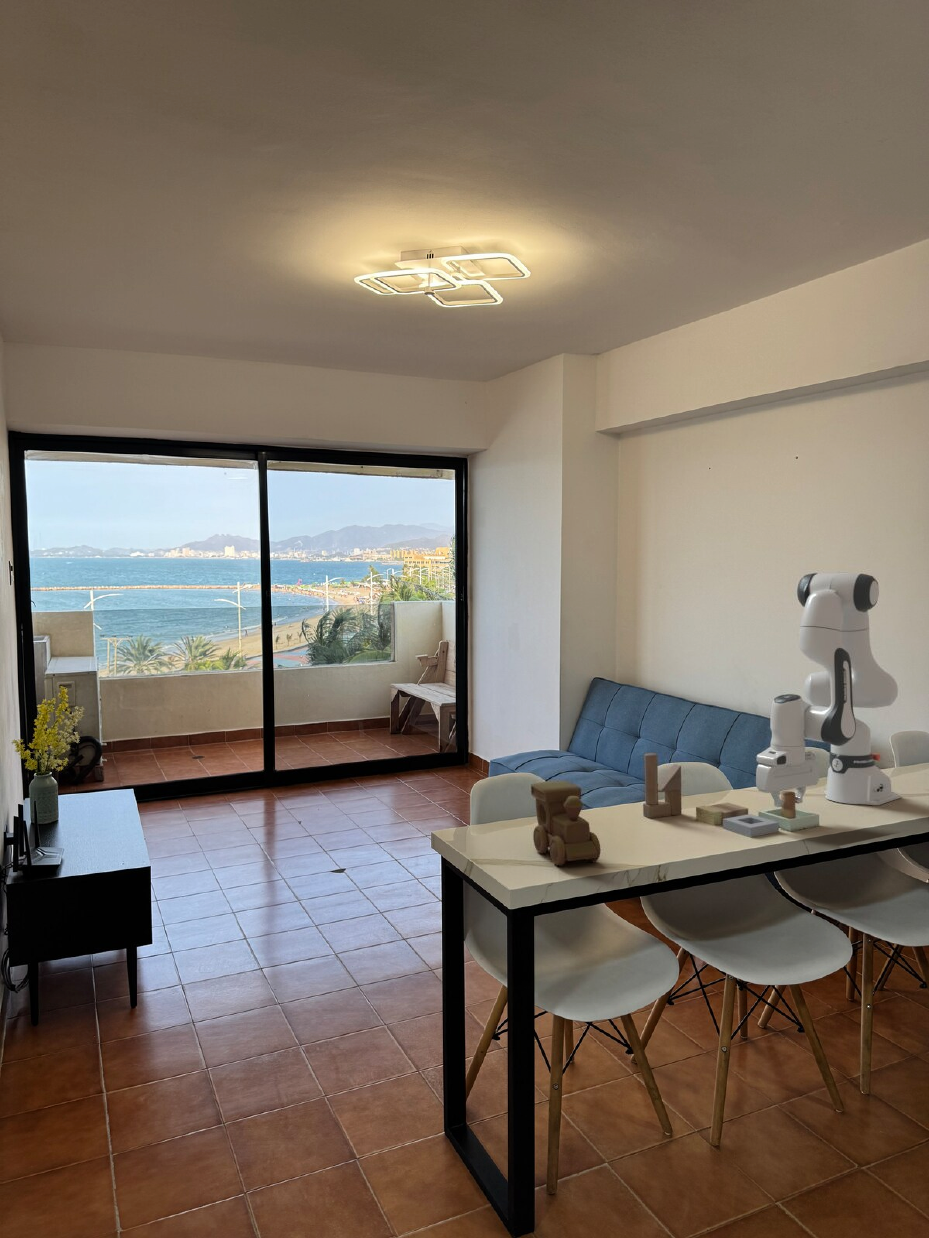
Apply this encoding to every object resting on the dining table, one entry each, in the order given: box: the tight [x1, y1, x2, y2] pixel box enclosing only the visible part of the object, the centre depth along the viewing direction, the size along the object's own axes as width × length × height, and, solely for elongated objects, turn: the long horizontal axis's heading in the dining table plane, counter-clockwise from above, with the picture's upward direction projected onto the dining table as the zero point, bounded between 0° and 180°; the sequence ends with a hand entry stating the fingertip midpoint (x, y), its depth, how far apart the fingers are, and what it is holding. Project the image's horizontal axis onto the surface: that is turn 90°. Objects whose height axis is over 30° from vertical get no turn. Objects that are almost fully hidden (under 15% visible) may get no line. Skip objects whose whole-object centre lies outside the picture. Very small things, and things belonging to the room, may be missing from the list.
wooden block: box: [642, 752, 682, 819], centre depth 245 cm, size 4×11×18 cm, turn 109°
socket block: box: [722, 813, 779, 838], centre depth 228 cm, size 10×10×2 cm
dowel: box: [780, 790, 797, 819], centre depth 233 cm, size 4×4×8 cm
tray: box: [757, 807, 820, 832], centre depth 233 cm, size 11×11×3 cm
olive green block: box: [695, 805, 723, 826], centre depth 237 cm, size 3×7×4 cm, turn 27°
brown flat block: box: [707, 802, 749, 825], centre depth 240 cm, size 9×8×4 cm
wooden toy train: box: [530, 780, 601, 867], centre depth 209 cm, size 20×11×17 cm, turn 18°
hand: (788, 804), depth 233 cm, fingers open, 6 cm apart
